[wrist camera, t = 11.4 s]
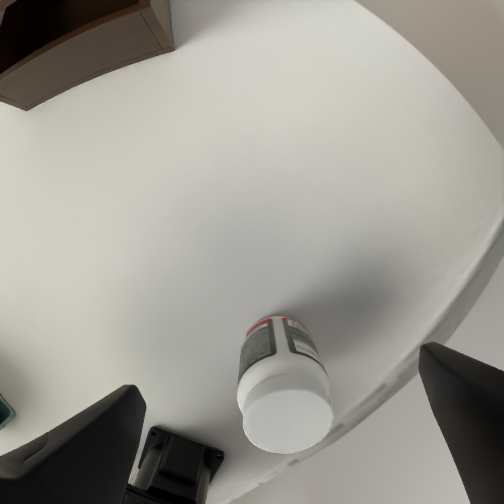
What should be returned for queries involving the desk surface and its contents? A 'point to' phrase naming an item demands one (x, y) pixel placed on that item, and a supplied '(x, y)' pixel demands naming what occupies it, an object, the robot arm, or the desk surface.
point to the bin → (75, 43)
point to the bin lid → (5, 4)
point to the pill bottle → (283, 387)
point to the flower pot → (5, 413)
